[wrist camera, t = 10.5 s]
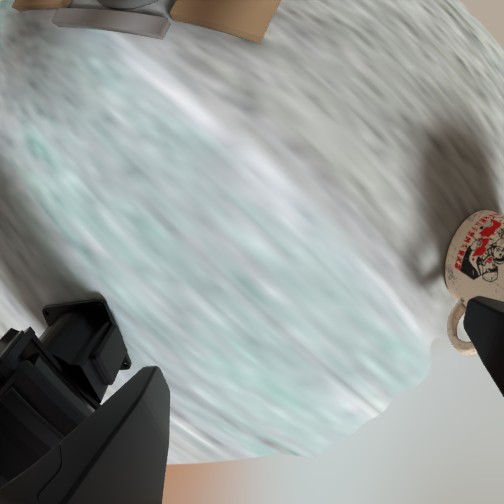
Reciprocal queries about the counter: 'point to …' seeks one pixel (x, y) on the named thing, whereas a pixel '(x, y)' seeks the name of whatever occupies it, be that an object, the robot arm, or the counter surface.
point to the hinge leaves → (184, 10)
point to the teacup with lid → (474, 267)
